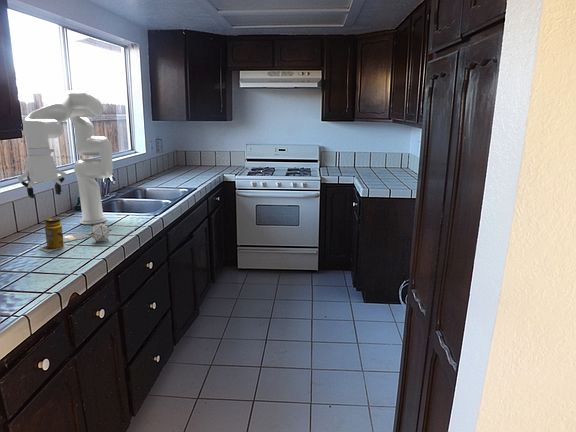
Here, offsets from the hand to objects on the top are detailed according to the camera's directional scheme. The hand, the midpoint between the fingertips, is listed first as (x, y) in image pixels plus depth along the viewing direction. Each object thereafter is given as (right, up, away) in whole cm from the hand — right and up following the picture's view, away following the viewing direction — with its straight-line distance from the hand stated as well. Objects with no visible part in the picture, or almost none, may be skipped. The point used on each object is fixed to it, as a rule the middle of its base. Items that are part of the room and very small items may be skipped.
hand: (45, 195), depth 168 cm
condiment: (0, -21, +6) cm, 22 cm away
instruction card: (0, -18, +19) cm, 26 cm away
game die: (+16, -19, +14) cm, 29 cm away
